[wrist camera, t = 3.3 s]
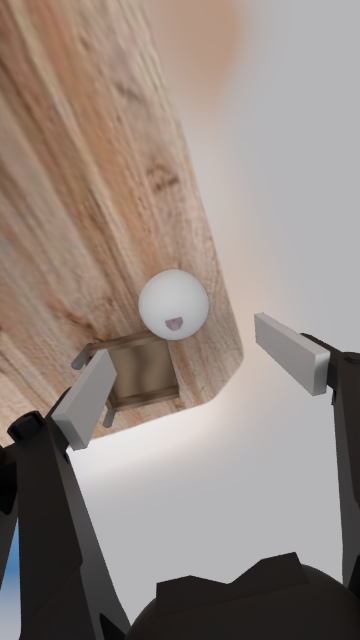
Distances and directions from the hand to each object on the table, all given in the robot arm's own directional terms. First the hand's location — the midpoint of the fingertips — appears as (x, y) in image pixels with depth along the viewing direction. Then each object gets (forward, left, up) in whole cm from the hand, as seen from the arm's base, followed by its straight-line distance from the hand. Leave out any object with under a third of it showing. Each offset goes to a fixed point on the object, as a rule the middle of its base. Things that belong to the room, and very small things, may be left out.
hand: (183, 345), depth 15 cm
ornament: (0, 0, -18) cm, 18 cm away
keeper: (-11, -12, -17) cm, 24 cm away
